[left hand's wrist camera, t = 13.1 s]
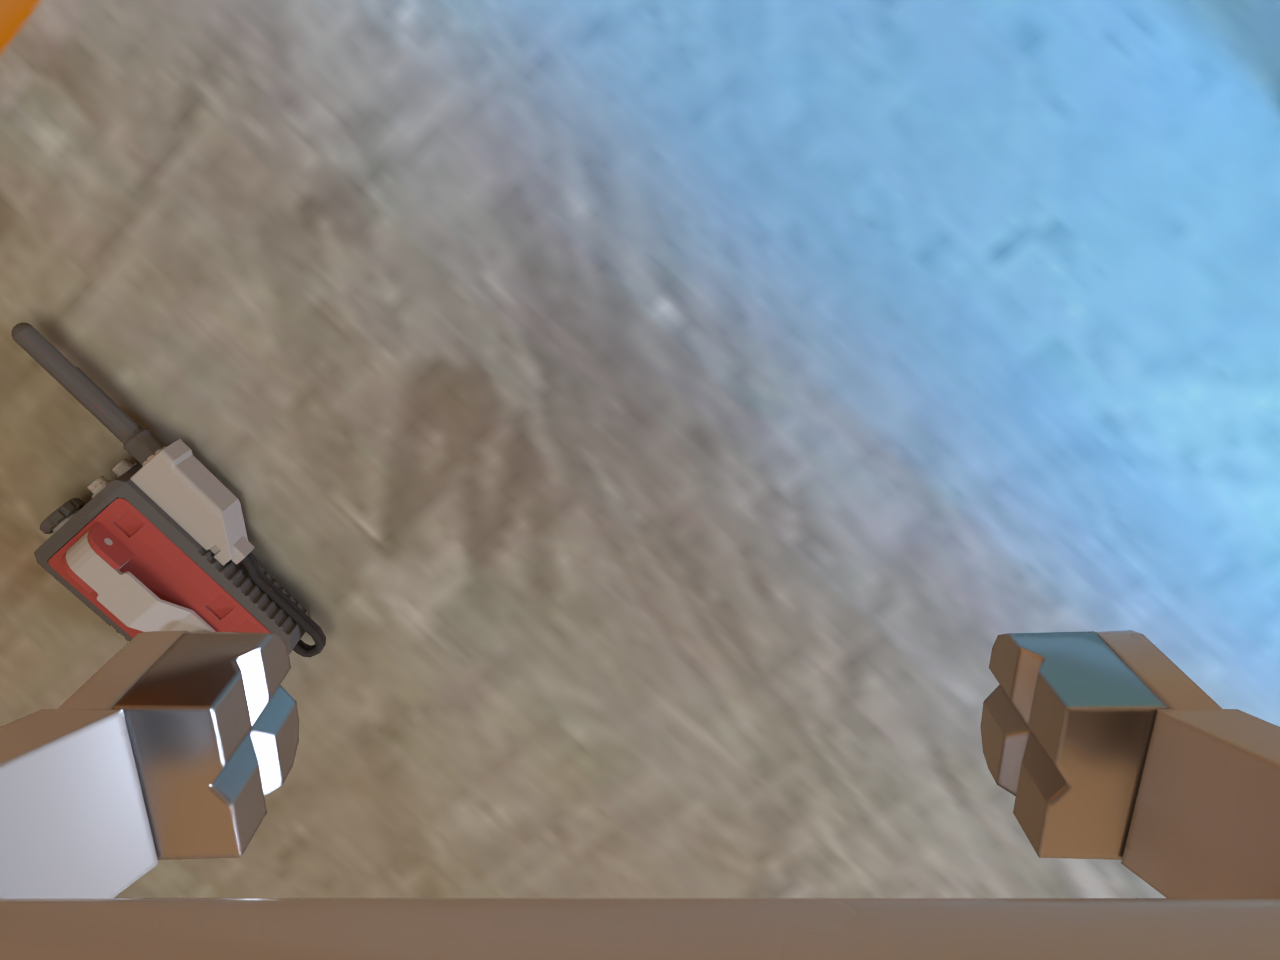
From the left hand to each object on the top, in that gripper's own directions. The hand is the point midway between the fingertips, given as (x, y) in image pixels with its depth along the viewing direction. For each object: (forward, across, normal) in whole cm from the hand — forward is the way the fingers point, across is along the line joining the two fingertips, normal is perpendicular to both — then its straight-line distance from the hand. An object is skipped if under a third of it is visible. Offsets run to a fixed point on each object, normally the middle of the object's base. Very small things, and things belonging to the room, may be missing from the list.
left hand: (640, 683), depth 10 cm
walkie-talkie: (+32, -24, -11) cm, 41 cm away
